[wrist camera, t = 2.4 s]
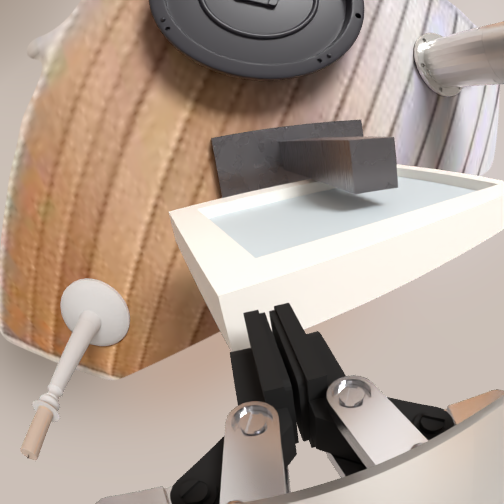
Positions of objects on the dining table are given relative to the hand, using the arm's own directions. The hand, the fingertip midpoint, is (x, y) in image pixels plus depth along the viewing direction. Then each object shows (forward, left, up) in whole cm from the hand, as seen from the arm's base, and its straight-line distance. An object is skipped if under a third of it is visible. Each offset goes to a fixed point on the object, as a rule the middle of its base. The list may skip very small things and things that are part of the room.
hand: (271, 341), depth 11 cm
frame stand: (-12, -2, -34) cm, 36 cm away
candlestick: (+27, +10, -35) cm, 45 cm away
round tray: (-15, -27, -35) cm, 47 cm away
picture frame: (-9, +2, -24) cm, 26 cm away
